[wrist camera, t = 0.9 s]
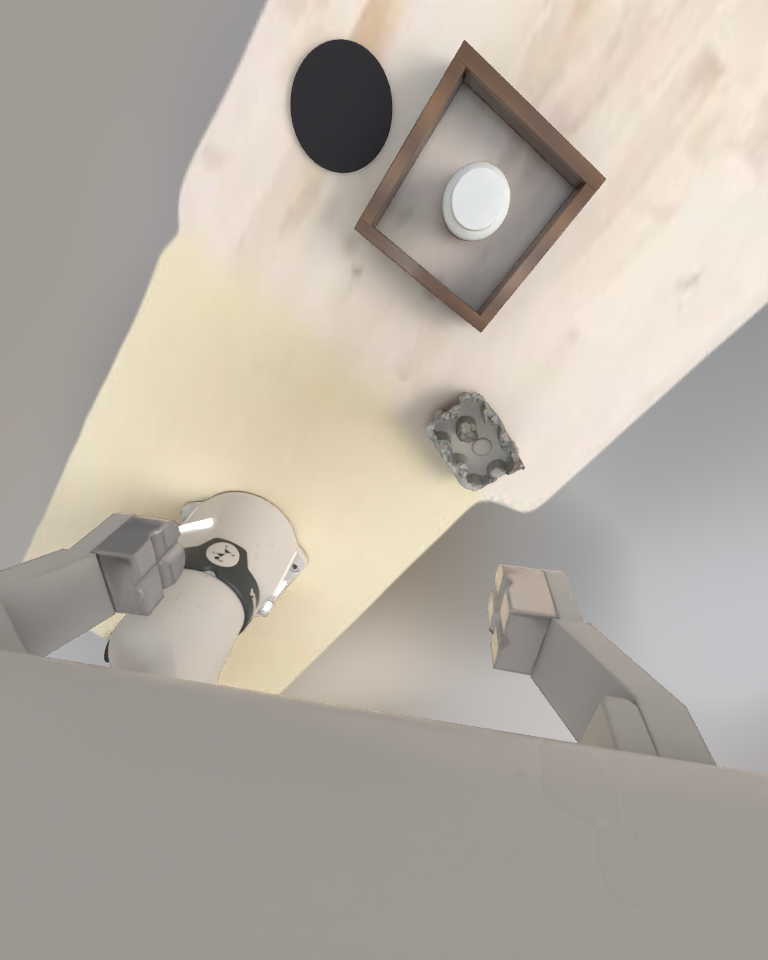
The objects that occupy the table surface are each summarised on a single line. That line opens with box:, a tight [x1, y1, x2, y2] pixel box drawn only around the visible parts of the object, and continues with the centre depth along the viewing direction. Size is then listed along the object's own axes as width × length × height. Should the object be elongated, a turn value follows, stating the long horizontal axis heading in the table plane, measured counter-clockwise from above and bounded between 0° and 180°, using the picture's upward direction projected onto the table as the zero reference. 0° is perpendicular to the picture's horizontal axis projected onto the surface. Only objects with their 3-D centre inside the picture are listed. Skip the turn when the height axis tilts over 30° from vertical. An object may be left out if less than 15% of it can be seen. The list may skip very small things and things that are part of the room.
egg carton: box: [425, 392, 525, 491], centre depth 49 cm, size 11×8×4 cm
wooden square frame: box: [354, 40, 606, 332], centre depth 39 cm, size 15×15×4 cm
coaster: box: [291, 39, 392, 173], centre depth 38 cm, size 9×9×1 cm
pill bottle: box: [442, 162, 510, 241], centre depth 36 cm, size 5×5×10 cm
